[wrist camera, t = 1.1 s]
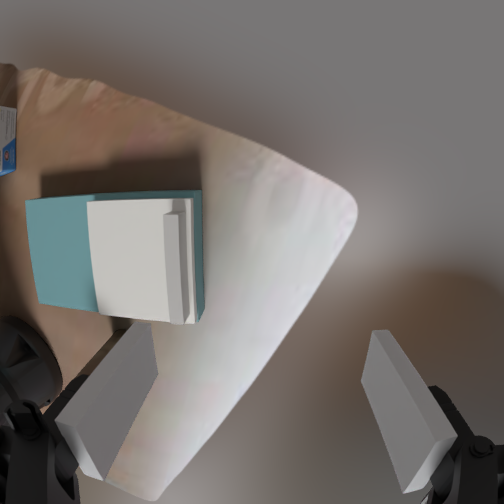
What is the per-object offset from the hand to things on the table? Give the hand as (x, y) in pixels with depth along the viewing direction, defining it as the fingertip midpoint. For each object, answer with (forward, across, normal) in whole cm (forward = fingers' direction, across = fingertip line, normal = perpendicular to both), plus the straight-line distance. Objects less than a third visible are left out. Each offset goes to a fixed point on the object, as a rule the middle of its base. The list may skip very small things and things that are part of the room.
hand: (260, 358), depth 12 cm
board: (+18, -16, 0) cm, 24 cm away
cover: (+14, -11, 0) cm, 18 cm away
